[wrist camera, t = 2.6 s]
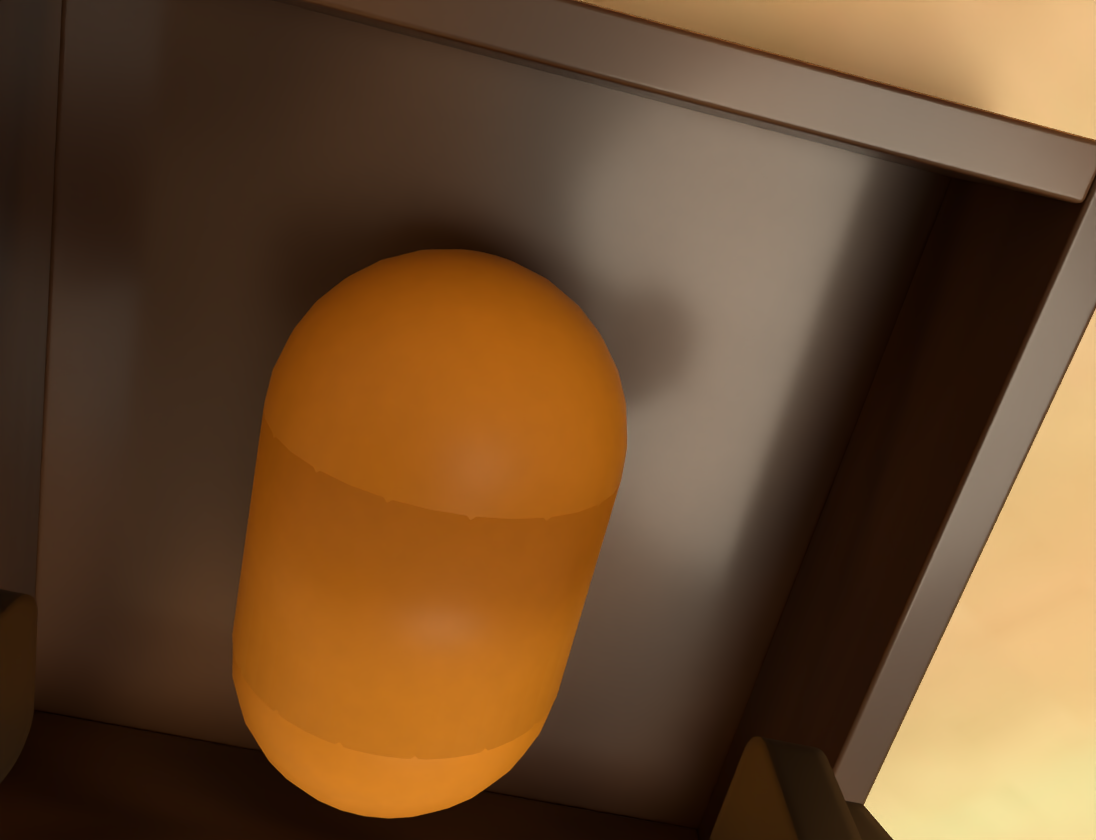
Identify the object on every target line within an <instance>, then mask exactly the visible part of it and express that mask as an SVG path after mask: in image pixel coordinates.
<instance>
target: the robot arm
mask: <svg viewBox="0 0 1096 840" xmlns="http://www.w3.org/2000/svg"><path fill="white" fill-rule="evenodd" d="M37 620H38V609H37V604H36V601H35V599H34V598H33V596H31V595H28V594H23V593H18V592H13V591H7V590H2V589H0V783H1V782H2V781H3V780H4V778H5V777H6V776H7V774H8V773H9V772H10V770H11V769H12V767H13V766H14V764H15V762H16V761H17V759H18V757H19V755H20V753H21V751H22V749H23V747H24V745H25V742H26V739H27V737H28V734H29V731H30V727H31V723H32V719H33V714H34V699H35V672H36V646H37ZM709 840H893V839H892V838H891V837H890V835H889V834H888V833H887V832H886V831H885V830H884V829H883V827H882V826H881V825H880V824H879V823H878V822H877V820H876V819H875V818H874V817H873V816H872V815H871V813H870V812H869V811H868V810H867V809H866V808H865V807H864V805H863V804H861V803H856V802H850V801H845V799H844V796H843V794H842V792H841V789H840V787H839V785H838V782H837V780H836V778H835V775H834V773H833V770H832V768H831V766H830V763H829V761H828V759H827V757H826V755H825V754H824V752H823V751H822V750H821V749H819V748H816V747H811V746H806V745H801V744H795V743H790V742H785V741H780V740H774V739H769V738H764V737H759V736H756V737H753V738H752V739H751V740H750V741H749V742H748V743H747V745H746V747H745V749H744V751H743V754H742V756H741V759H740V761H739V764H738V766H737V769H736V771H735V774H734V777H733V779H732V782H731V784H730V787H729V789H728V792H727V794H726V797H725V800H724V802H723V805H722V807H721V810H720V812H719V815H718V817H717V820H716V823H715V825H714V828H713V830H712V833H711V836H710V839H709Z"/></svg>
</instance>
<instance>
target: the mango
mask: <svg viewBox="0 0 1096 840" xmlns="http://www.w3.org/2000/svg"><path fill="white" fill-rule="evenodd" d="M626 451H627V418H626V401H625V397H624V393H623V388H622V384H621V380H620V376H619V372H618V369H617V367H616V365H615V363H614V361H613V359H612V357H611V354H610V352H609V350H608V348H607V346H606V344H605V342H604V340H603V338H602V336H601V335H600V333H599V331H598V330H597V329H596V328H595V326H594V325H593V324H592V322H591V321H590V320H589V318H588V317H587V316H586V314H585V313H584V312H583V311H582V309H581V308H580V307H579V306H578V305H577V304H576V303H575V302H574V301H573V300H571V299H570V298H569V297H568V296H567V295H566V294H564V293H563V292H562V291H561V290H560V289H559V288H557V287H556V286H555V285H554V284H553V283H551V282H550V281H549V280H548V279H546V278H544V277H543V276H541V275H539V274H537V273H535V272H533V271H531V270H529V269H527V268H525V267H523V266H521V265H519V264H517V263H515V262H513V261H511V260H508V259H505V258H502V257H499V256H496V255H492V254H488V253H484V252H479V251H473V250H464V249H429V250H419V251H415V252H411V253H407V254H403V255H399V256H395V257H391V258H387V259H383V260H380V261H378V262H376V263H374V264H372V265H370V266H368V267H366V268H364V269H362V270H360V271H358V272H356V273H354V274H352V275H350V276H349V277H347V278H345V279H344V280H342V281H341V282H340V283H339V284H337V285H336V286H335V287H334V288H332V289H331V290H330V291H329V292H327V293H326V294H325V295H324V296H322V297H321V298H320V299H319V300H317V301H316V302H315V303H314V305H313V306H312V307H311V308H310V310H309V311H308V312H307V313H306V315H305V316H304V317H303V318H302V319H301V321H300V322H299V323H298V324H297V326H296V327H295V328H294V330H293V331H292V333H291V335H290V337H289V339H288V340H287V342H286V344H285V346H284V348H283V350H282V352H281V354H280V356H279V358H278V360H277V362H276V364H275V366H274V368H273V371H272V375H271V379H270V382H269V386H268V390H267V394H266V398H265V402H264V408H263V415H262V423H261V430H260V437H259V444H258V452H257V459H256V466H255V473H254V481H253V488H252V495H251V502H250V510H249V517H248V524H247V531H246V539H245V546H244V553H243V560H242V568H241V575H240V582H239V589H238V597H237V604H236V611H235V618H234V626H233V633H232V642H233V664H232V677H233V681H234V685H235V689H236V693H237V696H238V700H239V704H240V707H241V711H242V714H243V717H244V721H245V724H246V725H247V727H248V728H249V730H250V732H251V733H252V735H253V736H254V738H255V740H256V741H257V743H258V745H259V746H260V748H261V749H262V751H263V752H264V754H265V756H266V757H267V759H268V760H269V762H270V763H271V764H272V765H273V766H274V767H275V768H276V769H277V770H278V771H279V772H280V773H281V774H282V775H283V776H284V777H285V778H286V779H287V780H289V781H290V782H292V783H293V784H294V785H296V786H297V787H299V788H300V789H302V790H303V791H305V792H306V793H308V794H309V795H311V796H312V797H314V798H315V799H317V800H318V801H320V802H323V803H325V804H327V805H330V806H332V807H334V808H336V809H339V810H342V811H346V812H349V813H353V814H357V815H361V816H367V817H378V818H405V817H414V816H419V815H423V814H428V813H432V812H436V811H440V810H443V809H447V808H450V807H452V806H455V805H457V804H459V803H462V802H464V801H466V800H469V799H471V798H473V797H474V796H476V795H477V794H479V793H480V792H481V791H483V790H484V789H486V788H487V787H489V786H490V785H491V784H493V783H494V782H495V781H497V780H498V779H499V778H501V777H502V776H503V775H505V774H506V773H507V772H509V771H510V770H511V769H512V767H513V766H514V765H515V764H516V763H517V762H518V761H519V759H520V758H521V757H522V756H523V755H524V754H525V752H526V751H527V750H528V748H529V747H530V746H531V744H532V743H533V742H534V740H535V739H536V738H537V737H538V735H539V734H540V732H541V730H542V727H543V725H544V723H545V721H546V719H547V717H548V714H549V712H550V710H551V707H552V705H553V703H554V701H555V699H556V697H557V694H558V691H559V687H560V684H561V681H562V677H563V674H564V670H565V667H566V664H567V660H568V657H569V654H570V650H571V647H572V644H573V640H574V637H575V633H576V630H577V627H578V623H579V620H580V617H581V613H582V610H583V606H584V603H585V600H586V596H587V593H588V590H589V586H590V583H591V580H592V576H593V573H594V569H595V566H596V563H597V559H598V556H599V553H600V549H601V546H602V542H603V539H604V536H605V532H606V529H607V526H608V522H609V519H610V516H611V512H612V509H613V505H614V502H615V499H616V495H617V492H618V489H619V485H620V482H621V478H622V473H623V468H624V462H625V457H626Z"/></svg>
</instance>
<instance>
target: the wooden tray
mask: <svg viewBox="0 0 1096 840" xmlns="http://www.w3.org/2000/svg"><path fill="white" fill-rule="evenodd" d="M429 249H464V250H473V251H479V252H484V253H488V254H492V255H496V256H499V257H502V258H505V259H508V260H511V261H513V262H515V263H517V264H519V265H521V266H523V267H525V268H527V269H529V270H531V271H533V272H535V273H537V274H539V275H541V276H543V277H544V278H546V279H548V280H549V281H550V282H551V283H553V284H554V285H555V286H556V287H557V288H559V289H560V290H561V291H562V292H563V293H564V294H566V295H567V296H568V297H569V298H570V299H571V300H573V301H574V302H575V303H576V304H577V305H578V306H579V307H580V308H581V309H582V311H583V312H584V313H585V314H586V316H587V317H588V318H589V320H590V321H591V322H592V324H593V325H594V326H595V328H596V329H597V330H598V331H599V333H600V335H601V336H602V338H603V340H604V342H605V344H606V346H607V348H608V350H609V352H610V354H611V357H612V359H613V361H614V363H615V365H616V367H617V369H618V372H619V376H620V380H621V384H622V388H623V393H624V397H625V401H626V418H627V451H626V457H625V462H624V468H623V473H622V478H621V482H620V485H619V489H618V492H617V495H616V499H615V502H614V505H613V509H612V512H611V516H610V519H609V522H608V526H607V529H606V532H605V536H604V539H603V542H602V546H601V549H600V553H599V556H598V559H597V563H596V566H595V569H594V573H593V576H592V580H591V583H590V586H589V590H588V593H587V596H586V600H585V603H584V606H583V610H582V613H581V617H580V620H579V623H578V627H577V630H576V633H575V637H574V640H573V644H572V647H571V650H570V654H569V657H568V660H567V664H566V667H565V670H564V674H563V677H562V681H561V684H560V687H559V691H558V694H557V697H556V699H555V701H554V703H553V705H552V707H551V710H550V712H549V714H548V717H547V719H546V721H545V723H544V725H543V727H542V730H541V732H540V734H539V735H538V737H537V738H536V739H535V740H534V742H533V743H532V744H531V746H530V747H529V748H528V750H527V751H526V752H525V754H524V755H523V756H522V757H521V758H520V759H519V761H518V762H517V763H516V764H515V765H514V766H513V767H512V769H511V770H510V771H509V772H507V773H506V774H505V775H503V776H502V777H501V778H499V779H498V780H497V781H495V782H494V783H493V784H491V785H490V786H489V787H487V788H486V789H484V790H483V791H481V792H480V793H479V794H477V795H476V796H474V797H473V798H471V799H469V800H466V801H464V802H462V803H459V804H457V805H455V806H452V807H450V808H447V809H443V810H440V811H436V812H432V813H428V814H423V815H419V816H414V817H405V818H378V817H367V816H361V815H357V814H353V813H349V812H346V811H342V810H339V809H336V808H334V807H332V806H330V805H327V804H325V803H323V802H320V801H318V800H317V799H315V798H314V797H312V796H311V795H309V794H308V793H306V792H305V791H303V790H302V789H300V788H299V787H297V786H296V785H294V784H293V783H292V782H290V781H289V780H287V779H286V778H285V777H284V776H283V775H282V774H281V773H280V772H279V771H278V770H277V769H276V768H275V767H274V766H273V765H272V764H271V763H270V762H269V760H268V759H267V757H266V756H265V754H264V752H263V751H262V749H261V748H260V746H259V745H258V743H257V741H256V740H255V738H254V736H253V735H252V733H251V732H250V730H249V728H248V727H247V725H246V724H245V721H244V717H243V714H242V711H241V707H240V704H239V700H238V696H237V693H236V689H235V685H234V681H233V677H232V664H233V642H232V633H233V626H234V618H235V611H236V604H237V597H238V589H239V582H240V575H241V568H242V560H243V553H244V546H245V539H246V531H247V524H248V517H249V510H250V502H251V495H252V488H253V481H254V473H255V466H256V459H257V452H258V444H259V437H260V430H261V423H262V415H263V408H264V402H265V398H266V394H267V390H268V386H269V382H270V379H271V375H272V371H273V368H274V366H275V364H276V362H277V360H278V358H279V356H280V354H281V352H282V350H283V348H284V346H285V344H286V342H287V340H288V339H289V337H290V335H291V333H292V331H293V330H294V328H295V327H296V326H297V324H298V323H299V322H300V321H301V319H302V318H303V317H304V316H305V315H306V313H307V312H308V311H309V310H310V308H311V307H312V306H313V305H314V303H315V302H316V301H317V300H319V299H320V298H321V297H322V296H324V295H325V294H326V293H327V292H329V291H330V290H331V289H332V288H334V287H335V286H336V285H337V284H339V283H340V282H341V281H342V280H344V279H345V278H347V277H349V276H350V275H352V274H354V273H356V272H358V271H360V270H362V269H364V268H366V267H368V266H370V265H372V264H374V263H376V262H378V261H380V260H383V259H387V258H391V257H395V256H399V255H403V254H407V253H411V252H415V251H419V250H429ZM1095 309H1096V140H1093V139H1090V138H1086V137H1082V136H1079V135H1075V134H1071V133H1067V132H1064V131H1060V130H1056V129H1053V128H1049V127H1045V126H1041V125H1038V124H1034V123H1030V122H1027V121H1023V120H1019V119H1016V118H1012V117H1008V116H1004V115H1001V114H997V113H993V112H990V111H986V110H982V109H978V108H975V107H971V106H967V105H964V104H960V103H956V102H953V101H949V100H945V99H941V98H938V97H934V96H930V95H927V94H923V93H919V92H915V91H912V90H908V89H904V88H901V87H897V86H893V85H890V84H886V83H882V82H878V81H875V80H871V79H867V78H864V77H860V76H856V75H852V74H849V73H845V72H841V71H838V70H834V69H830V68H826V67H823V66H819V65H815V64H812V63H808V62H804V61H801V60H797V59H793V58H789V57H786V56H782V55H778V54H775V53H771V52H767V51H763V50H760V49H756V48H752V47H749V46H745V45H741V44H738V43H734V42H730V41H726V40H723V39H719V38H715V37H712V36H708V35H704V34H700V33H697V32H693V31H689V30H686V29H682V28H678V27H674V26H671V25H667V24H663V23H660V22H656V21H652V20H649V19H645V18H641V17H637V16H634V15H630V14H626V13H623V12H619V11H615V10H611V9H608V8H604V7H600V6H597V5H593V4H589V3H586V2H582V1H578V0H0V589H2V590H7V591H13V592H18V593H23V594H28V595H31V596H33V598H34V599H35V601H36V604H37V609H38V620H37V646H36V672H35V699H34V714H33V719H32V723H31V727H30V731H29V734H28V737H27V739H26V742H25V745H24V747H23V749H22V751H21V753H20V755H19V757H18V759H17V761H16V762H15V764H14V766H13V767H12V769H11V770H10V772H9V773H8V774H7V776H6V777H5V778H4V780H3V781H2V782H1V783H0V840H709V839H710V836H711V833H712V830H713V828H714V825H715V823H716V820H717V817H718V815H719V812H720V810H721V807H722V805H723V802H724V800H725V797H726V794H727V792H728V789H729V787H730V784H731V782H732V779H733V777H734V774H735V771H736V769H737V766H738V764H739V761H740V759H741V756H742V754H743V751H744V749H745V747H746V745H747V743H748V742H749V741H750V740H751V739H752V738H753V737H756V736H759V737H764V738H769V739H774V740H780V741H785V742H790V743H795V744H801V745H806V746H811V747H816V748H819V749H821V750H822V751H823V752H824V754H825V755H826V757H827V759H828V761H829V763H830V766H831V768H832V770H833V773H834V775H835V778H836V780H837V782H838V785H839V787H840V789H841V792H842V794H843V796H844V799H845V801H850V802H856V803H861V804H863V805H864V803H865V801H866V799H867V797H868V794H869V792H870V790H871V788H872V786H873V784H874V782H875V779H876V777H877V775H878V773H879V771H880V769H881V767H882V764H883V762H884V760H885V758H886V756H887V754H888V752H889V749H890V747H891V745H892V743H893V741H894V739H895V737H896V735H897V732H898V730H899V728H900V726H901V724H902V722H903V720H904V717H905V715H906V713H907V711H908V709H909V707H910V705H911V702H912V700H913V698H914V696H915V694H916V692H917V690H918V687H919V685H920V683H921V681H922V679H923V677H924V675H925V672H926V670H927V668H928V666H929V664H930V662H931V660H932V658H933V655H934V653H935V651H936V649H937V647H938V645H939V643H940V640H941V638H942V636H943V634H944V632H945V630H946V628H947V625H948V623H949V621H950V619H951V617H952V615H953V613H954V610H955V608H956V606H957V604H958V602H959V600H960V598H961V595H962V593H963V591H964V589H965V587H966V585H967V583H968V581H969V578H970V576H971V574H972V572H973V570H974V568H975V566H976V563H977V561H978V559H979V557H980V555H981V553H982V551H983V548H984V546H985V544H986V542H987V540H988V538H989V536H990V533H991V531H992V529H993V527H994V525H995V523H996V521H997V518H998V516H999V514H1000V512H1001V510H1002V508H1003V506H1004V504H1005V501H1006V499H1007V497H1008V495H1009V493H1010V491H1011V489H1012V486H1013V484H1014V482H1015V480H1016V478H1017V476H1018V474H1019V471H1020V469H1021V467H1022V465H1023V463H1024V461H1025V459H1026V456H1027V454H1028V452H1029V450H1030V448H1031V446H1032V444H1033V441H1034V439H1035V437H1036V435H1037V433H1038V431H1039V429H1040V427H1041V424H1042V422H1043V420H1044V418H1045V416H1046V414H1047V412H1048V409H1049V407H1050V405H1051V403H1052V401H1053V399H1054V397H1055V394H1056V392H1057V390H1058V388H1059V386H1060V384H1061V382H1062V379H1063V377H1064V375H1065V373H1066V371H1067V369H1068V367H1069V364H1070V362H1071V360H1072V358H1073V356H1074V354H1075V352H1076V350H1077V347H1078V345H1079V343H1080V341H1081V339H1082V337H1083V335H1084V332H1085V330H1086V328H1087V326H1088V324H1089V322H1090V320H1091V317H1092V315H1093V313H1094V311H1095Z"/></svg>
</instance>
